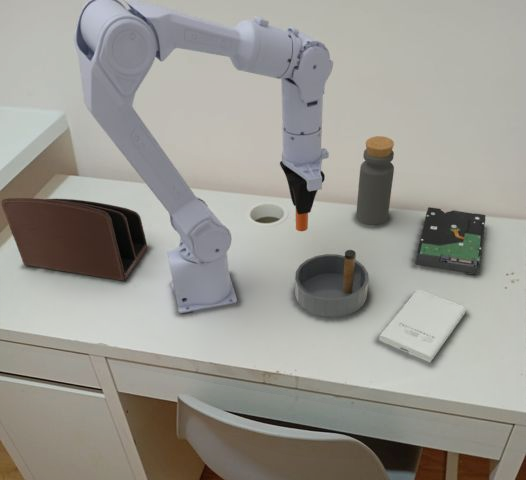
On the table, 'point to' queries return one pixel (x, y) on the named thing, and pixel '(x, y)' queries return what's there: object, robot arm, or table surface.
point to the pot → (329, 286)
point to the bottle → (375, 181)
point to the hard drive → (423, 325)
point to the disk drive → (451, 241)
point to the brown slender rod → (348, 271)
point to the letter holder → (76, 236)
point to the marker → (301, 221)
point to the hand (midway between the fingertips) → (301, 208)
